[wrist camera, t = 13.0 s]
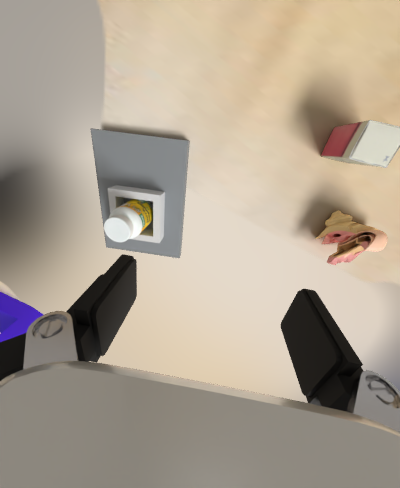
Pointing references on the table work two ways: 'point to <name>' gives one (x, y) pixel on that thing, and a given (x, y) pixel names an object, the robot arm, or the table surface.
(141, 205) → the supplement bottle
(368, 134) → the small box
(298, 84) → the table surface
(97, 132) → the socket holder
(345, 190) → the table surface
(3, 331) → the bracket
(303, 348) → the robot arm
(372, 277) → the table surface
